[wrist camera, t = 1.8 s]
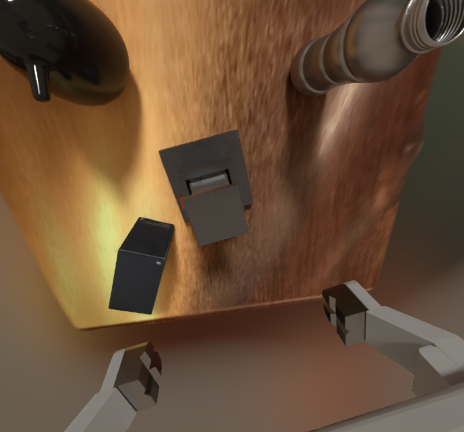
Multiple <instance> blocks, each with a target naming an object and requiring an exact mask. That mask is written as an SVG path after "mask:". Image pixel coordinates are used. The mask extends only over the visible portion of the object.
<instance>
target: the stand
mask: <svg viewBox="0 0 464 432" xmlns="http://www.w3.org/2000/svg"><path fill="white" fill-rule="evenodd" d="M159 154H160V157H161V159H162V162H163V165H164V167H165V170H166V173H167V175H168V178H169V181H170V183H171V186H172V189H173V191H174V194H175V197H176V199H177V202H178V205H179V207H180V210H181V213H182V215H183V218H184V221H185V222H189V221H190V219H189V217H188V214H187V211H186V208H185V206H184V203H183V197H186V196H190V195H192V191H191V188H190V185H189V183H190V179H192V178H196V177H200V176H203V175H207V174H211V173H214V172H218V171H221V170H225V173H226V174H227V177H228V181H229V184H233V183H236V184H237V186H238V190H239V195H240V199H241V203H242V207H243V211H244V213H245V208H244V206H246V205H249V204H253V200H252V195H251V191H250V186H249V181H248V177H247V172H246V167H245V163H244V158H243V153H242V149H241V144H240V139H239V135H238V130H233V131H230V132H226V133H222V134H218V135H215V136H211V137H207V138H204V139H200V140H196V141H193V142H189V143H185V144H181V145H178V146H174V147H170V148H167V149H163V150H160V151H159Z"/></svg>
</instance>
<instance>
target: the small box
mask: <svg viewBox="0 0 464 432" xmlns="http://www.w3.org/2000/svg"><path fill="white" fill-rule="evenodd" d="M173 230H174V225H173V224H167V223H163V222H159V221H155V220H151V219H147V218H141V217H139V218H138V220H137V222H136V223H135V225H134V226H133V228H132V229H131V231H130V233H129V234H128V236H127V237H126V239H125V240H124V242H123V244H122V245H121V247H120V248H119V249H118V254H117V261H116V267H115V273H114V279H113V285H112V291H111V297H110V302H109V309H114V310H121V311H128V312H136V313H143V314H150V315H151V314H152V310H153V307H154V303H155V299H156V295H157V292H158V288H159V284H160V280H161V277H162V273H163V269H164V265H165V261H166V257H167V253H168V250H169V246H170V242H171V238H172V234H173Z"/></svg>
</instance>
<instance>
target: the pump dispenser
mask: <svg viewBox="0 0 464 432" xmlns="http://www.w3.org/2000/svg"><path fill="white" fill-rule="evenodd" d="M0 56H1V57H2V58H3V59H4V60H5V61H6V62H7V63H8V64H9V65H10V66H12V67H13V68H14V69H15V70H16V71H18V72H19V73H20V74H21V75H23V76H24V77H25V78H27V79H28V80H29V81H30V85H31V89H32V93H33V97H34V98H35V99H36V100H37V101H40V102H49V101H50V100H51V97H50V94H52V95H54V96H57V97H59V98H61V99H63V100H66V101H69V102H71V103H75V104H78V105H83V106H101V105H105V104H108V103H110V102H112V101H113V100H115V99H116V98H117V97H118V96H119V95H120V94H121V93H122V91H123V90H124V88H125V86H126V83H127V80H128V76H129V58H128V53H127V49H126V46H125V43H124V41H123V39H122V37H121V35H120V33H119V31H118V30H117V28H116V27H115V25H114V24H113V23H112V22H111V20H110V19H109V18H108V17H107V16H106V15H105V14H104V13H103V12H102V11H101V10H100V9H99V8H98V7H97V6H95V5H94V4H93V3H92V2H90V1H89V0H0Z"/></svg>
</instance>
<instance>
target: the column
mask: <svg viewBox="0 0 464 432" xmlns="http://www.w3.org/2000/svg"><path fill="white" fill-rule="evenodd" d="M189 185H190V188H191V191H192V195H190V196H186V197H183V203H184V206H185V208H186V211H187V214H188V217H189V219H190V222H191V225H192V228H193V230H194V233H195V236H196V239H197V241H198V244H199V247H200V246H203V245H207V244H210V243H214V242H217V241H221V240H224V239H228V238H231V237H235V236H238V235H242V234H245V233H249V232H248V228H247V224H246V220H245V215H244V211H243V207H242V203H241V199H240V195H239V190H238V186H237V184H236V183H233V184H229V181H228V177H227V174H226V173H225V170H221V171H218V172H214V173H211V174H207V175H203V176H200V177H196V178H192V179H190V183H189Z"/></svg>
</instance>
